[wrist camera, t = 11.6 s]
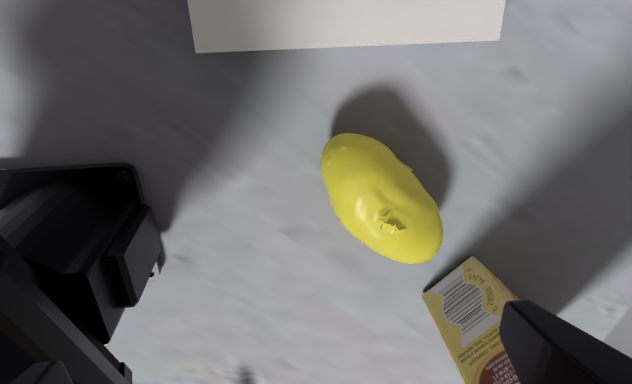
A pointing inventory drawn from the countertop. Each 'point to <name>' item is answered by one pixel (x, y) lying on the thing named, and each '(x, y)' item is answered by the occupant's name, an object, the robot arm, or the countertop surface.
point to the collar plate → (339, 23)
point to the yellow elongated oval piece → (380, 199)
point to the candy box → (473, 322)
